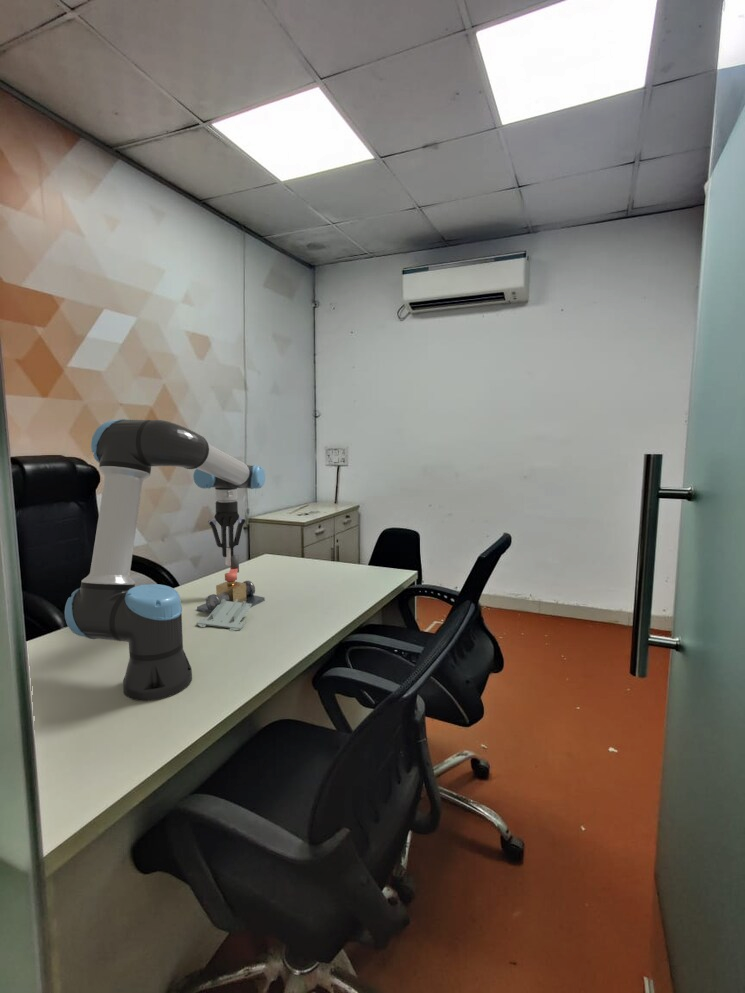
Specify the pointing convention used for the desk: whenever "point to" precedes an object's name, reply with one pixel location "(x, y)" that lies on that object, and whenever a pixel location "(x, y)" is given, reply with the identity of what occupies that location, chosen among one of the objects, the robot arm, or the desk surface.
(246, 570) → the desk surface
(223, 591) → the valve
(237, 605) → the metal bracket
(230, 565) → the robot arm
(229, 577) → the lever
